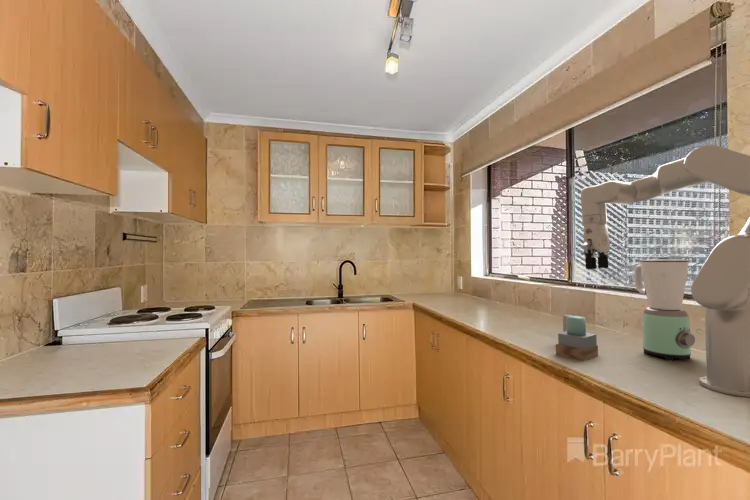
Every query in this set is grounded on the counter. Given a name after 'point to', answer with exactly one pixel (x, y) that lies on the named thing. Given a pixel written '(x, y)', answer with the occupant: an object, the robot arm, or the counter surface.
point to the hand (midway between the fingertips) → (597, 268)
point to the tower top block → (577, 340)
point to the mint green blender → (664, 307)
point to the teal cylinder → (576, 325)
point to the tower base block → (577, 352)
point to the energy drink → (566, 321)
